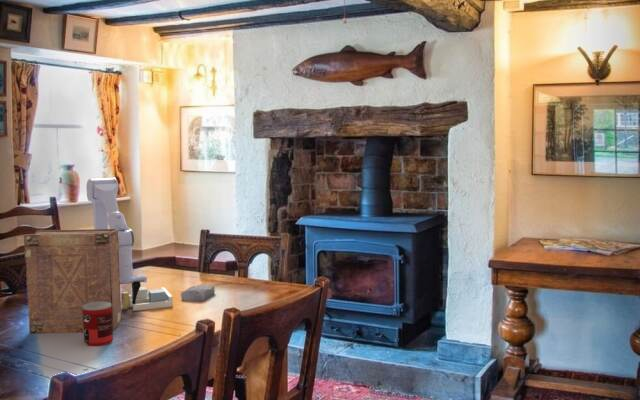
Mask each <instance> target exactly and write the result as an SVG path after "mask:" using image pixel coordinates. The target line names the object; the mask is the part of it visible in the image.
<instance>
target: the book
mask: <svg viewBox="0 0 640 400" xmlns="http://www.w3.org/2000/svg"><path fill="white" fill-rule="evenodd" d="M23 246H24V247H23V248H24V262H25V276H26V295H27V296H26V297H27V313H28V329H29V333H30V334H54V333H55V334H57V333H58V334H63V333H65V334H66V333H84V329H83V310H82V308H83V305H84V304H87V303H91V302H99V301H104V302H110V303H111V305H112V325H113V331H115V330H116V329H117V328H118V327H119V326H120V324H121V323H122V299H121V284H120V276H119V251H118V230H117V229H110V228H108V229H94V228H93V229H46V230H36V231H35V233H34V234H24V235H23Z"/></svg>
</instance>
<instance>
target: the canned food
mask: <svg viewBox="0 0 640 400" xmlns="http://www.w3.org/2000/svg"><path fill="white" fill-rule="evenodd" d="M82 310H83V329H84V332H83V341H84V344H85V345H87V346H89V347H100V346H105V345H106V346H107V345H109V344H112V342H113V341H114V330H113V325H112V305H111V303H110V302H104V301H99V302H91V303H87V304H84V305H83V308H82Z"/></svg>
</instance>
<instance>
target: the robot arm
mask: <svg viewBox="0 0 640 400" xmlns="http://www.w3.org/2000/svg"><path fill="white" fill-rule="evenodd" d="M118 182H119V181H118V179H117V178H116V177H107V178H106V177H105V178H89V179H88V180H87V181H86V184H85V185H86V186H85V187H86V198H87V201H89V202H91V204H92V212H93V213H92V215H93V227H94V228H93V229H117V230H118V251H119V276H120V285H126V284H127V285H129V284H131V288H132V303H133V304H135V302H136V297H137V293H138V291H139V289H140V287H142V286H141V285H142V284H141V283H147V282H148V281H147V278H148V277H147V275H134V271H133V247H134V244H135V234H134V232H133V230H132V229H131V227H129V226H128V225H127V223H128V222H127V221H126V219H125V215H124V213H123V212H120V210H119V206H118V201H117V197H118V192H119V183H118Z"/></svg>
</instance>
